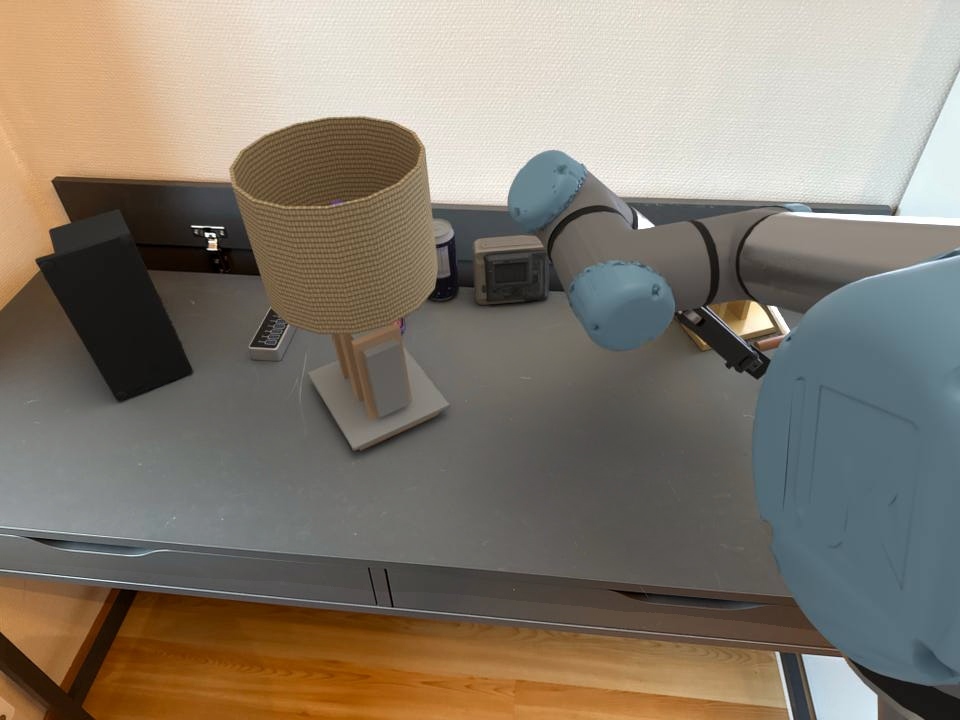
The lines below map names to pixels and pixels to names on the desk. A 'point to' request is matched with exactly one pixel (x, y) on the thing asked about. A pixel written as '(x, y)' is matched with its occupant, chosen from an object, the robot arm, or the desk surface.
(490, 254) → the camera
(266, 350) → the multiport hub
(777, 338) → the lever
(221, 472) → the desk surface
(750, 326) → the bracket
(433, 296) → the beverage can
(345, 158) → the desk lamp
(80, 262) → the bookend
